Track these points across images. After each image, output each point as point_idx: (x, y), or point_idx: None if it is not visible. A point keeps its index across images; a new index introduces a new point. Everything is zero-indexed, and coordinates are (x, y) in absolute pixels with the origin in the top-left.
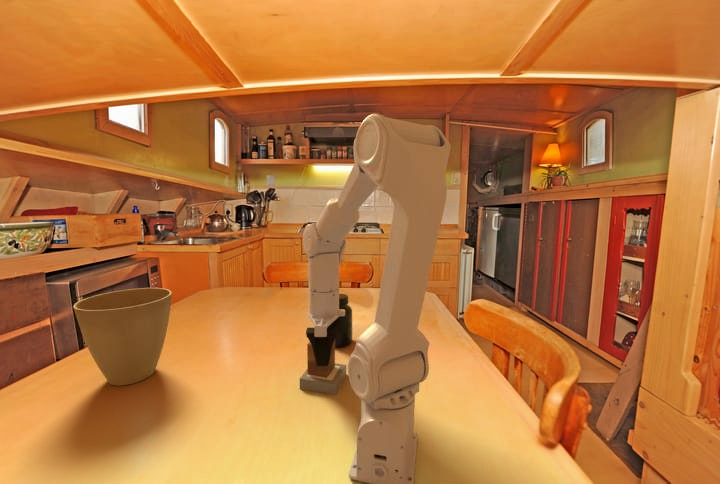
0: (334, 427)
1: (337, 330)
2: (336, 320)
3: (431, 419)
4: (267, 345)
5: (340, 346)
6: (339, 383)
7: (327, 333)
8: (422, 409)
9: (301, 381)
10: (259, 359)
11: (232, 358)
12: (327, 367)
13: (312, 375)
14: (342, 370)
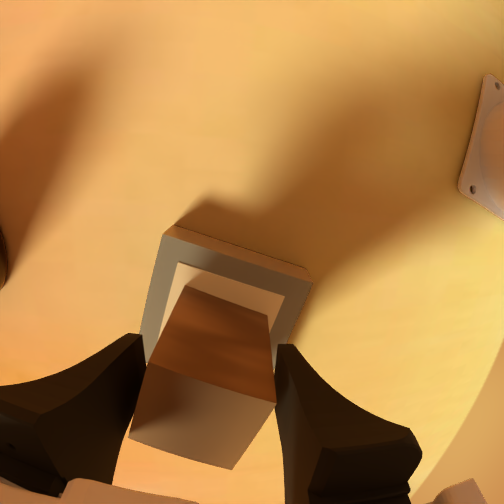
0: (439, 269)
1: (363, 453)
2: (57, 418)
3: (430, 9)
4: None
5: (3, 246)
6: (260, 257)
7: (407, 488)
8: (394, 9)
9: None
10: None
11: None
12: (265, 334)
13: None
14: (210, 252)
